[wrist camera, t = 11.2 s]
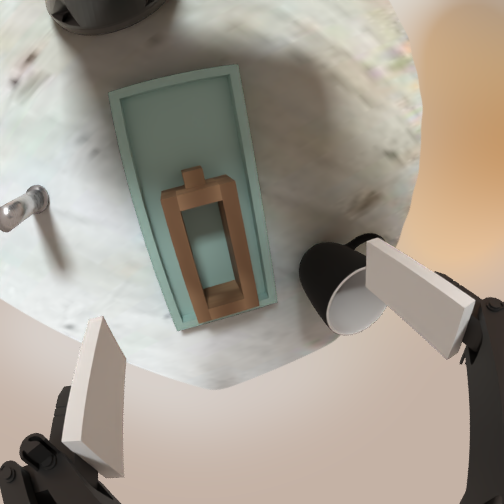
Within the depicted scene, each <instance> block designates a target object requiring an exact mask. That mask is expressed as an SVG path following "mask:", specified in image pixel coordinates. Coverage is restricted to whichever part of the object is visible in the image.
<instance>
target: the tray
mask: <svg viewBox="0 0 504 504" xmlns="http://www.w3.org/2000/svg"><path fill="white" fill-rule="evenodd" d="M108 96H109V101H110V107H111V112H112V117H113V122H114V127H115V132H116V136H117V141H118V145H119V150H120V154H121V158H122V162H123V166H124V171H125V174H126V178H127V182H128V186H129V190H130V193H131V197H132V201H133V204H134V208H135V211H136V215H137V218H138V221H139V225H140V228H141V231H142V234H143V238H144V241H145V244H146V247H147V250H148V253H149V256H150V259H151V262H152V265H153V268H154V271H155V274H156V276H157V279H158V282H159V285H160V288H161V290H162V293H163V296H164V298H165V301H166V304H167V306H168V309H169V312H170V314H171V317H172V319H173V322H174V324H175V327H176V329H177V331H180V330H184V329H188V328H191V327H195V326H199V325H202V324H206V323H210V322H213V321H217V320H220V319H224V318H227V317H231V316H234V315H237V314H241V313H244V312H247V311H251V310H254V309H257V308H261V307H264V306H267V305H270V304H273V303H277V302H278V301H277V294H276V288H275V281H274V274H273V268H272V261H271V255H270V248H269V242H268V235H267V229H266V223H265V217H264V210H263V204H262V198H261V192H260V186H259V180H258V174H257V168H256V162H255V156H254V150H253V145H252V139H251V133H250V127H249V122H248V116H247V110H246V105H245V99H244V94H243V88H242V83H241V77H240V72H239V67H238V64H233V65H226V66H219V67H212V68H206V69H200V70H195V71H189V72H184V73H179V74H175V75H170V76H166V77H161V78H157V79H153V80H149V81H145V82H142V83H138V84H134V85H131V86H127V87H124V88H121V89H118V90H114V91H111V92H108ZM199 165H200V166H201V167H202V169H203V173H204V178H205V179H209V178H213V177H217V176H221V175H225V174H226V175H228V176H229V177H231V178H232V179H233V180H235V182H236V187H237V192H238V197H239V202H240V208H241V213H242V218H243V223H244V228H245V233H246V238H247V243H248V248H249V254H250V259H251V264H252V269H253V274H254V279H255V284H256V289H257V294H258V299H259V304H260V306H258V307H255V308H251V309H248V310H245V311H241V312H238V313H235V314H231V315H228V316H225V317H221V318H218V319H214V320H211V321H207V322H204V323H200V324H199V323H198V320H197V317H196V314H195V312H194V309H193V306H192V303H191V300H190V297H189V294H188V291H187V288H186V285H185V282H184V279H183V276H182V272H181V269H180V266H179V263H178V260H177V257H176V253H175V250H174V247H173V243H172V240H171V237H170V233H169V230H168V226H167V223H166V219H165V216H164V212H163V208H162V205H161V201H160V199H161V191H163V190H167V189H170V188H174V187H178V186H182V185H184V181H183V177H182V172H181V170H183V169H187V168H191V167H195V166H199ZM181 212H182V216H183V220H184V224H185V227H186V231H187V235H188V238H189V242H190V246H191V249H192V253H193V256H194V260H195V263H196V267H197V270H198V274H199V277H200V280H201V284H202V287H203V289H204V288H208V287H211V286H215V285H218V284H222V283H225V282H229V281H232V280H235V277H234V273H233V269H232V264H231V260H230V256H229V251H228V247H227V242H226V238H225V234H224V229H223V225H222V220H221V216H220V211H219V207H218V202H214V203H210V204H206V205H202V206H199V207H195V208H191V209H187V210H184V211H181Z"/></svg>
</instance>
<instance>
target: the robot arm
mask: <svg viewBox="0 0 504 504" xmlns="http://www.w3.org/2000/svg"><path fill="white" fill-rule="evenodd" d="M165 1H166V0H45V3H46V7H47V10H48V12H49V14H50V16H51V17H52V18H53V19H54V20H55V21H56V22H57V23H58V24H59V25H60V26H61V27H62V28H64V29H66V30H68V31H70V32H73V33H76V34H82V35H99V34H106V33H110V32H114V31H118V30H121V29H124V28H126V27H129V26H131V25H133V24H135V23H137V22H139V21H141V20H142V19H144V18H146V17H147V16H149V15H150V14H152V13H153V12H154V11H155V10H157V9H158V8H159V7H160V6H161V5H162V4H163V3H164V2H165ZM365 287H366V288H368V289H369V290H370V291H371V292H372V293H373V294H375V295H376V296H377V297H378V298H379V299H380V300H381V301H383V302H384V303H385V304H386V305H387V306H388V307H390V308H391V309H392V310H393V311H394V312H395V313H396V314H397V315H398V316H400V317H401V318H402V319H403V320H404V321H405V322H406V323H407V324H409V325H410V326H411V327H412V328H413V329H414V330H415V331H416V332H418V334H420V335H421V336H422V337H423V338H424V339H425V340H426V341H427V342H428V343H429V344H430V345H431V346H433V347H434V348H435V349H436V350H437V351H438V352H439V353H440V354H441V355H442V356H443V357H444V358H445V359H446V360H447V359H449V358H451V357H452V356H454V355H455V354H456V353H458V351H459V349H460V346H461V343H462V342H463V343H465V344H466V348H465V350H464V353H463V355H462V357H461V360H460V364H462V363H463V361H464V358H466V363H465V364H466V366H467V376H468V388H469V403H470V404H469V405H470V452H469V453H470V454H469V468H468V479H467V488H466V492H465V494H464V496H463V498H462V500H461V502H460V504H504V302H502V301H500V300H499V299H496V298H492V297H489V298H485V299H483V300H482V299H480V298H479V297H477V296H476V295H475V294H473V293H472V292H470V291H469V290H467V289H466V288H464V287H463V286H461V285H459V283H457V282H455V281H453V279H451V278H449V277H448V276H446V275H445V274H442V273H439V272H436V271H435V272H433V271H431V270H430V269H428V268H426V267H425V266H424V265H422V264H420V263H419V262H417V261H416V260H414V259H413V258H411V257H409V256H408V255H406V254H404V253H403V252H401V251H400V250H398V249H396V248H395V247H393V246H391V245H390V244H388V243H386V242H385V241H383V240H381V239H380V238H375V239H372V240H369V241H367V248H366V284H365ZM125 369H126V358H125V356H124V354H123V352H122V351H121V349H120V347H119V345H118V343H117V342H116V340H115V338H114V336H113V334H112V332H111V330H110V328H109V327H108V325H107V323H106V321H105V319H104V317H103V316H100V317H96V318H92V319H89V321H88V324H87V327H86V331H85V334H84V338H83V341H82V345H81V349H80V352H79V357H78V360H77V364H76V368H75V372H74V377H73V381H72V385H71V386H66V387H64V388H63V390H62V391H61V393H60V394H59V396H58V399H57V404H56V409H55V413H54V416H55V417H54V418H53V423H52V428H51V434H50V440H49V441H48V440H47V439H46V438H45V437H44V436H43V435H42V434H39V433H34V434H31V435H29V436H27V437H26V438H25V439H24V440H23V442H22V444H21V446H20V452H19V453H20V457H21V459H22V460H23V461H24V462H25V463H27V464H28V465H27V466H24V467H21V466H20V465H19V464H17V463H16V462H15V461H6V462H5V463H4V464H3V465H2V466H1V468H0V489H1V493H2V497H3V501H4V504H121V503H120V502H119V501H118V500H117V499H116V498H115V497H114V496H113V495H112V494H111V493H110V491H109V490H108V489H107V488H106V487H105V486H104V485H103V484H102V483H101V482H100V481H98V472H99V473H100V474H101V475H103V476H104V477H105V478H119V477H124V466H123V465H124V464H123V406H124V384H125Z"/></svg>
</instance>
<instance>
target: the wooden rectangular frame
mask: <svg viewBox="0 0 504 504" xmlns="http://www.w3.org/2000/svg"><path fill="white" fill-rule="evenodd" d="M181 172H182V177H183V181H184V185H182V186H178V187H174V188H170V189H167V190H163V191H161V199H160V201H161V205H162V208H163V212H164V216H165V219H166V223H167V226H168V230H169V233H170V237H171V240H172V243H173V247H174V250H175V253H176V257H177V260H178V263H179V266H180V269H181V272H182V276H183V279H184V282H185V285H186V288H187V291H188V294H189V297H190V300H191V303H192V306H193V309H194V312H195V314H196V317H197V320H198V323H199V324H200V323H204V322H207V321H211V320H214V319H218V318H221V317H225V316H228V315H231V314H235V313H238V312H241V311H245V310H248V309H251V308H255V307H258V306H260V304H259V299H258V294H257V289H256V284H255V279H254V274H253V269H252V264H251V259H250V254H249V248H248V243H247V238H246V233H245V228H244V223H243V218H242V213H241V208H240V202H239V197H238V192H237V187H236V182H235V180H233V179H232V178H231V177H229V176H228V175H226V174H225V175H221V176H217V177H213V178H209V179H205V178H204V173H203V169H202V167H201V166H200V165H199V166H195V167H191V168H187V169H183V170H181ZM214 202H218V207H219V211H220V216H221V220H222V225H223V229H224V234H225V238H226V242H227V247H228V251H229V256H230V260H231V264H232V269H233V273H234V277H235V280H232V281H229V282H225V283H222V284H218V285H215V286H211V287H208V288H204V289H203V287H202V284H201V280H200V277H199V274H198V270H197V267H196V263H195V260H194V256H193V253H192V249H191V246H190V242H189V238H188V235H187V231H186V227H185V224H184V220H183V216H182V212H181V211H184V210H187V209H191V208H195V207H199V206H202V205H206V204H210V203H214Z"/></svg>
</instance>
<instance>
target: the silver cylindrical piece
mask: <svg viewBox="0 0 504 504" xmlns="http://www.w3.org/2000/svg"><path fill="white" fill-rule="evenodd" d="M48 202H49V197H48V193H47V191H46V189H45V188H44V187H42V186H40V185H34V186H32V187H30V188H29V189H28V190H27V192H26V193H25V194H23V195H22V196H20V197H18V198H16V199H14V200H12V201H10V202H9V203H7V204H5V205H3V206H2V207H0V230H1V231H3V232H9V231H11V230H12V229H13V228H15V227H16V226H17V225H19V224H20V223H21V222H23V221H24V220H25V219H27V218H28V217H30V216H31V215H32V214H34V213H35V214H38V213H41V212H42V211H44V210H45V209H46V207H47V205H48Z"/></svg>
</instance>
